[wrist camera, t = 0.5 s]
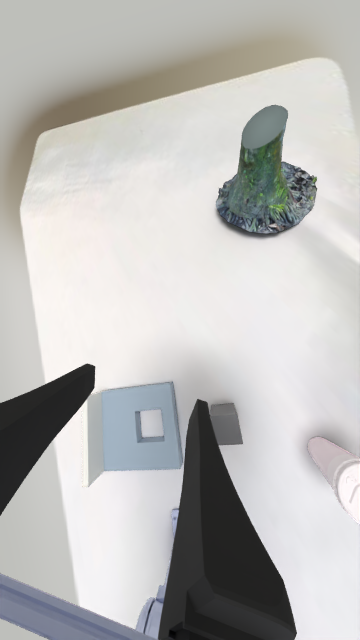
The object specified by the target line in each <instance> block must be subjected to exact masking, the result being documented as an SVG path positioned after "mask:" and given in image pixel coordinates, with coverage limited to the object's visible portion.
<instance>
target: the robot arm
mask: <svg viewBox="0 0 360 640" xmlns="http://www.w3.org/2000/svg"><path fill="white" fill-rule="evenodd" d="M94 385H95V366H93V365H90V364H85V365H83V366H81V367H79V368H77V369H75V370H73V371H71V372H69V373H67V374H65V375H64V376H62V377H60V378H58V379H55V380H53V381H51V382H49V383H47V384H45V385H43V386H41V387H39V388H37V389H34V390H32V391H30V392H28V393H25V394H23V395H20V396H18V397H15V398H13V399H10V400H8V401H5V402H2V403H0V515H1V514H2V512H3V511H4V509H5V508H6V506H7V504H8V503H9V501H10V500H11V498H12V497H13V495H14V494H15V493H16V491H17V490H18V488H19V487H20V485H21V484H22V482H23V481H24V479H25V478H26V476H27V475H28V473H29V472H30V470H31V469H32V468H33V466H34V465H35V463H36V462H37V461H38V459H39V458H40V457H41V455H42V454H43V452H44V451H45V450H46V448H47V447H48V446H49V444H50V443H51V441H52V440H53V439H54V438H55V437H56V435H57V434H58V433H59V432H60V431H61V429H62V428H63V427H64V426H65V425H66V424H67V422H68V421H69V420H70V419H71V418H72V417H73V415H74V414H75V413H76V412H77V411H78V410H79V408H80V407H81V406H82V405H83V404H84V402H85V401H86V400H87V398H88V397H89V395H90V394H91V392H92V391H93V389H94ZM174 517H176V518H174ZM172 524H173V534H174V544H173V549H172V553H171V557H170V562H169V566H168V570H167V575H166V579H165V583H164V586H162V585H160V586H159V589H158V593H157V597H156V600H155V598H152V597H150V598H149V599H148V600H147V602H146V604H145V605H144V607H143V608H142V610H141V613H140V615H139V618H138V622H137V625H136V629H135V630H134V629H132V628H129V627H127V626H125V625H122V624H120V623H118V622H115V621H113V620H110V619H108V618H106V617H103V616H101V615H98V614H96V613H94V612H91V611H89V610H87V609H84V608H82V607H79V606H77V605H75V604H72V603H70V602H67V601H65V600H63V599H60V598H58V597H56V596H53V595H51V594H48V593H46V592H43V591H41V590H39V589H36V588H34V587H32V586H29V585H27V584H25V583H22V582H20V581H17V580H15V579H13V578H10V577H8V576H5V575H3V574H0V618H1V619H3V620H6V621H8V622H10V623H13V624H15V625H17V626H19V627H22V628H24V629H26V630H28V631H31V632H33V633H35V634H38V635H40V636H42V637H44V638H47V639H49V640H294V639H295V637H296V634H297V632H296V627H295V623H294V618H293V614H292V609H291V606H290V602H289V598H288V595H287V591H286V588H285V585H284V581H283V579H282V577H281V576H280V574H279V572H278V570H277V569H276V567H275V565H274V563H273V562H272V560H271V558H270V556H269V554H268V553H267V551H266V549H265V547H264V545H263V544H262V542H261V540H260V538H259V536H258V534H257V532H256V530H255V528H254V527H253V525H252V523H251V521H250V519H249V517H248V515H247V512H246V510H245V508H244V506H243V504H242V502H241V500H240V498H239V496H238V494H237V492H236V489H235V487H234V485H233V482H232V480H231V478H230V475H229V473H228V470H227V468H226V465H225V463H224V460H223V457H222V454H221V452H220V449H219V446H218V443H217V439H216V436H215V433H214V429H213V426H212V422H211V418H210V414H209V409H208V404H207V402H205V401H202V400H199V399H197V401H196V404H195V406H194V409H193V411H192V414H191V417H190V419H189V424H188V430H187V436H186V448H185V461H184V474H183V485H182V493H181V499H180V506H179V510H173V511H172Z"/></svg>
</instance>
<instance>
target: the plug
mask: <svg viewBox="0 0 360 640" xmlns="http://www.w3.org/2000/svg"><path fill="white" fill-rule="evenodd" d="M211 422H212V426H213V429H214V433H215V436H216V439H217V443H218V445H235V444H243V441H242V436H241V431H240V426H239V421H238V416H237V412H236V409H235V406H234V403H230V404H220V405H212V408H211Z"/></svg>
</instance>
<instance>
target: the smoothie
mask: <svg viewBox="0 0 360 640" xmlns="http://www.w3.org/2000/svg"><path fill="white" fill-rule="evenodd" d="M308 451H309V454H310V455H311V457H312V458H313V460H314V461H315V463H316V464H317V466H318V467H319V469H320V470H321V472H322V473H323V475H324V476H325V478H326V479H327V481H328V482H329V484H330V485H331V487H332V488H333V490H334V492H335V496H336V498H337V500H338V502H339V503H340V505H341V506H342V508H343V509H344V510H345V511H346V512H347V513H348V514H349V516H350V517H351V518H352V519H353V520H354V521H355V522H356V523H358V524H359V525H360V458H359V457H357V456H355V455H354V454H352V453H350V452H348V451H346V450H345V449H343V448H341V447H339V446H337V445H335V444H334V443H332V442H330V441H328V440H326V439H324V438H322V437H314V438H312V439H310V441H309V442H308Z"/></svg>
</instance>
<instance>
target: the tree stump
mask: <svg viewBox="0 0 360 640" xmlns="http://www.w3.org/2000/svg"><path fill="white" fill-rule="evenodd" d="M287 118H288V111H287V110H286V109H285V108H284V107H282V106H278V105H271V106H268V107H265V108H264V109H262V110H260V111H259V112H258V113H256V114H255V115H254V116H253V117H252V118H251V119H250V120H249V122H248V123H247V124H246V126H245V128H244V130H243V133H242V141H241V150H240V158H239V165H238V172H237V174H236V175H235V176H234V177H233V179H232V180H229V181H227V182H225V183H224V185H223V188H222V189H221V188H219V192H218V193H219V196H218V199H217V201H216V208H217V209H218V210H219V212H220V215H221V216H222V217H224V218H225V219H226V220H227V221H228V222H229V223H232V224H234V225H236V226H238V227H240V228H242V229H245V230H247V231H250V232H257V233H267V234H268V233H277V232H280V231H283V230H285V229H287V228H289V227H292V226H294V225H296V224H298V223H299V222H300V221H301V220H302V219H303V218H304V217H305V215H307V214H308V213H309V212H310V211H311V210H312V208H313V206H314V203H315V196H316V191H317V188H316V186H315V182H316V181H317V177H314V176H313V175H312V176H311V177H310V175H309V174H308V173H307V172H306V171H303V170H302V169H301V168H300V167H297V166H293V165H291V164H288V163H286V162H281V157H282V146H283V144H282V142H283V136H284V132H285V127H286V121H287ZM293 182H294V183H293Z"/></svg>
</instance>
